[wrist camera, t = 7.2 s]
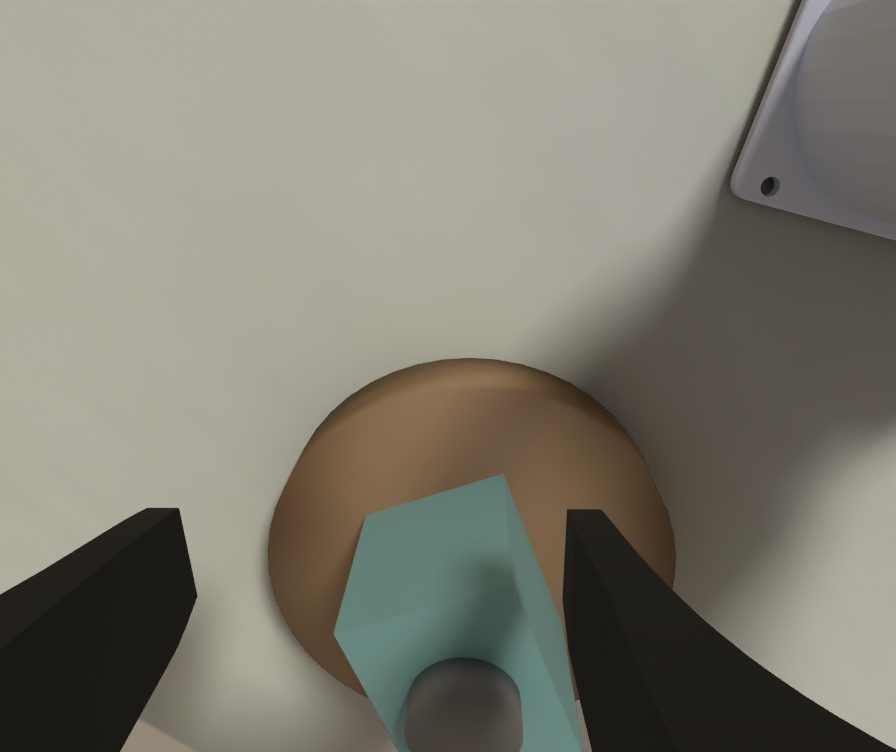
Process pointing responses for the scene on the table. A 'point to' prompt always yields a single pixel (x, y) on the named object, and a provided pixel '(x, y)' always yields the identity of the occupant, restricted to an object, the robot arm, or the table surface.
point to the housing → (458, 627)
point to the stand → (454, 479)
